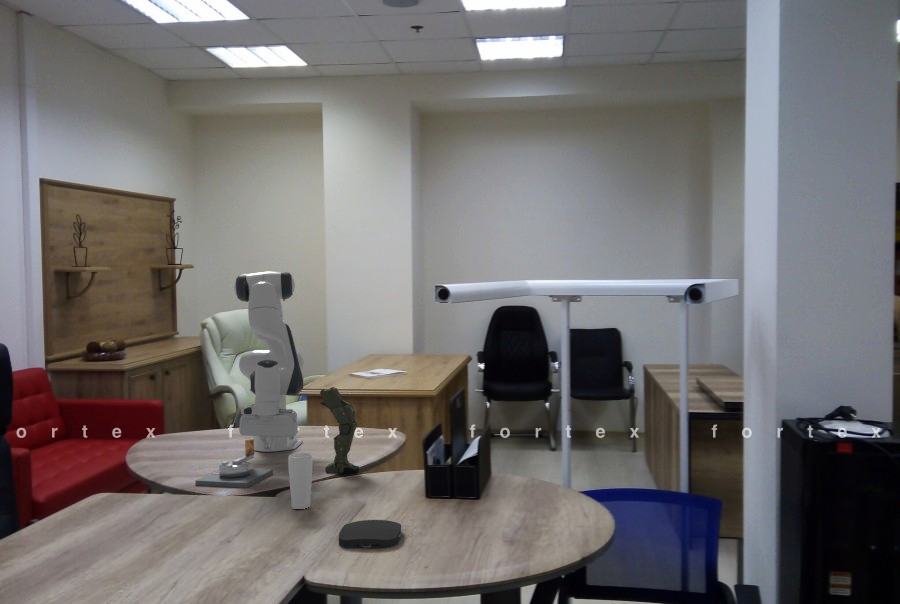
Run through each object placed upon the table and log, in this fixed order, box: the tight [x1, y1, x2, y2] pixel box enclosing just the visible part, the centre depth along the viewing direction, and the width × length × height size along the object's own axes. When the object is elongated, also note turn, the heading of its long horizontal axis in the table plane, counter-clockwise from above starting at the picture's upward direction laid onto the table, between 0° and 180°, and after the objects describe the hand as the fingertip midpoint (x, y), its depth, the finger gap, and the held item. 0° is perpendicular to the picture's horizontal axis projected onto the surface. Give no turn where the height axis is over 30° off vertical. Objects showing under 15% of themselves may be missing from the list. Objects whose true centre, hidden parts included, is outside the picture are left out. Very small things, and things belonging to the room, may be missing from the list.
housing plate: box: [194, 468, 274, 489], centre depth 239 cm, size 18×18×2 cm
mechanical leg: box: [319, 386, 360, 474], centre depth 249 cm, size 14×7×30 cm, turn 85°
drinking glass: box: [287, 452, 314, 510], centre depth 206 cm, size 7×7×15 cm
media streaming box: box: [338, 519, 402, 550], centre depth 180 cm, size 15×15×3 cm
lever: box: [218, 438, 255, 478], centre depth 242 cm, size 16×10×9 cm, turn 167°
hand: (268, 449), depth 247 cm, fingers closed
